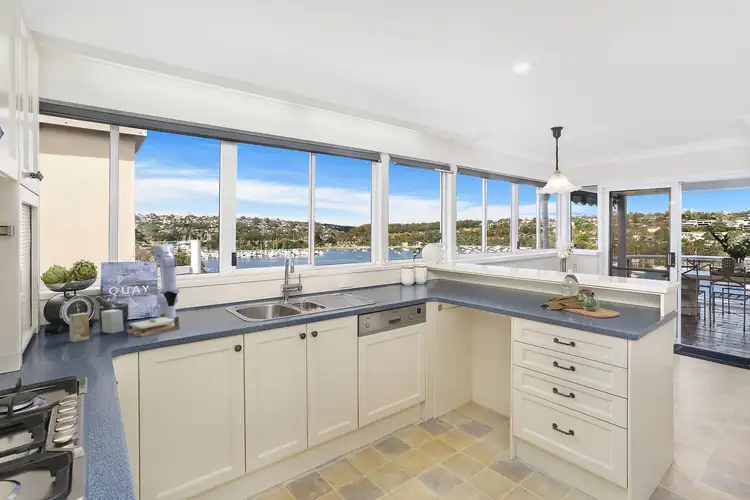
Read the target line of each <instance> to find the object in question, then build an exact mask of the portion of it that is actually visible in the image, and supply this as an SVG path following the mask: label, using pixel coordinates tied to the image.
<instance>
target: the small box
mask: <svg viewBox="0 0 750 500" xmlns="http://www.w3.org/2000/svg"><path fill="white" fill-rule="evenodd" d="M100 314H101V326H102V327H101V328H102V333H108V334H115V333H119V332H123V331H124V317H123V315H124V314H123V310H121V309H112V308H111V309H107V310H101V313H100Z"/></svg>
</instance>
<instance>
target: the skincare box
mask: <svg viewBox="0 0 750 500" xmlns="http://www.w3.org/2000/svg"><path fill="white" fill-rule="evenodd" d="M68 317H69V318H68V319H69V320H68V321H69V341H70V342H72V343H77V342H81V341H82V342H83V341H88V340H90V323H89V322H90V321H89V320H90V319H89V318H90V317H89V313H88V312H80V313H74V314H68Z"/></svg>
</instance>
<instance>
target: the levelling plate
mask: <svg viewBox="0 0 750 500" xmlns="http://www.w3.org/2000/svg"><path fill="white" fill-rule="evenodd" d="M168 323H171V324H173V323H175V322H174V319H171V318H167V317H161V318H158V317H157V318H149V319H147V320H141V321H136V322H132V323H131V322H130V324H129V326H132V328H136V327H137V328H140V329H144V328H148V327H153V326H158V325H163V324H168Z"/></svg>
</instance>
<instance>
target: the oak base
mask: <svg viewBox="0 0 750 500" xmlns="http://www.w3.org/2000/svg"><path fill="white" fill-rule="evenodd" d="M161 317H165V314H161ZM179 317H180V316H176V317H174V322H173V323H168V324H163V325H158V326H153V327H148V328H144V329H140V328H137V327H133V326H130V325H128V328H126V333H127V334H131V335H133V336H136V337H137V336H138V337H140V338H143V337H147V336H152V335H156V334H162V333H166V332H171V331H174V330H175V331H176V330H180V328H181V327H180V318H179Z"/></svg>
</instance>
